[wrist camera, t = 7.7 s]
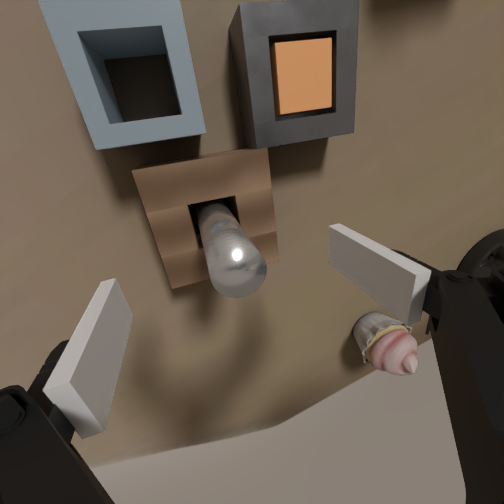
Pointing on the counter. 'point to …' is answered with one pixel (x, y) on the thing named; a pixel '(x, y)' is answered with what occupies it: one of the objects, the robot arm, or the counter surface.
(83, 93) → the blue square collar
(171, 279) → the socket block
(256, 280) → the peg
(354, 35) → the housing
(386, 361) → the cupcake
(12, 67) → the counter surface
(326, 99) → the orange square block
